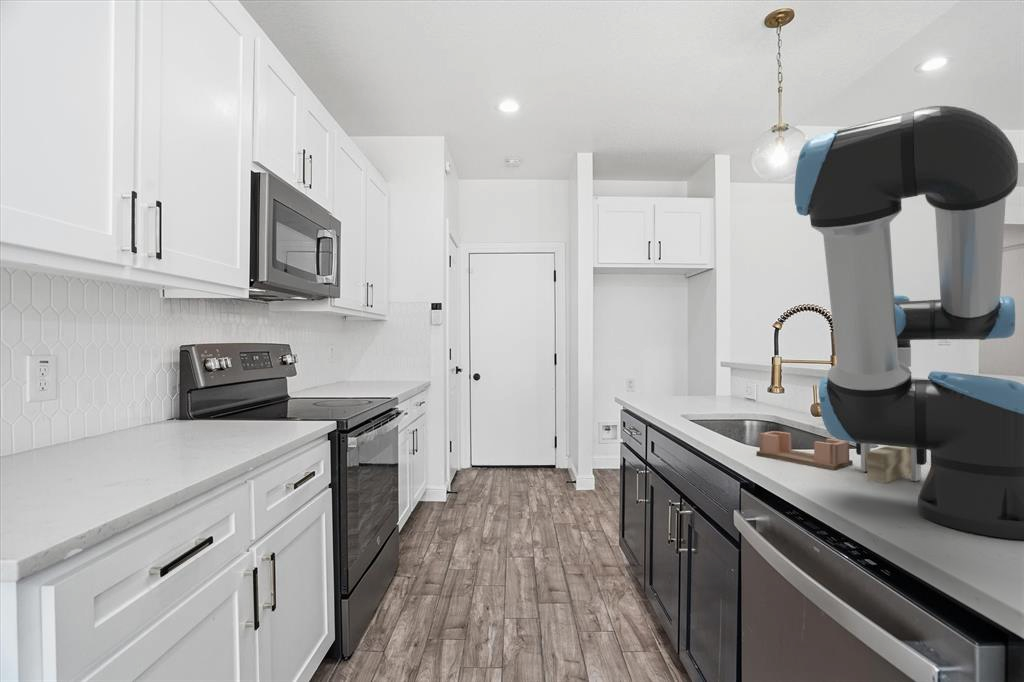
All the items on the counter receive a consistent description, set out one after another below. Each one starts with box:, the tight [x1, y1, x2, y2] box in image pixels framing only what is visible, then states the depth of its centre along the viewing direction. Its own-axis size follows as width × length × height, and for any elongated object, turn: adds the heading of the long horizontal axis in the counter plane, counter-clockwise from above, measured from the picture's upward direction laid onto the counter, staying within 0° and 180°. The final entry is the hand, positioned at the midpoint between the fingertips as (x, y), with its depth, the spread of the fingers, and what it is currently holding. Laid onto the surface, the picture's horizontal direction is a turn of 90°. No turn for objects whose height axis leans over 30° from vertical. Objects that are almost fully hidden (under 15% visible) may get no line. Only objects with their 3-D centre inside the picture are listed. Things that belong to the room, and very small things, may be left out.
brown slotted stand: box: [758, 430, 850, 465], centre depth 119 cm, size 7×18×4 cm, turn 32°
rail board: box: [755, 449, 854, 471], centre depth 119 cm, size 9×18×1 cm, turn 32°
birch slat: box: [866, 445, 911, 484], centre depth 104 cm, size 14×3×6 cm, turn 123°
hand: (890, 474), depth 104 cm, fingers open, 8 cm apart
